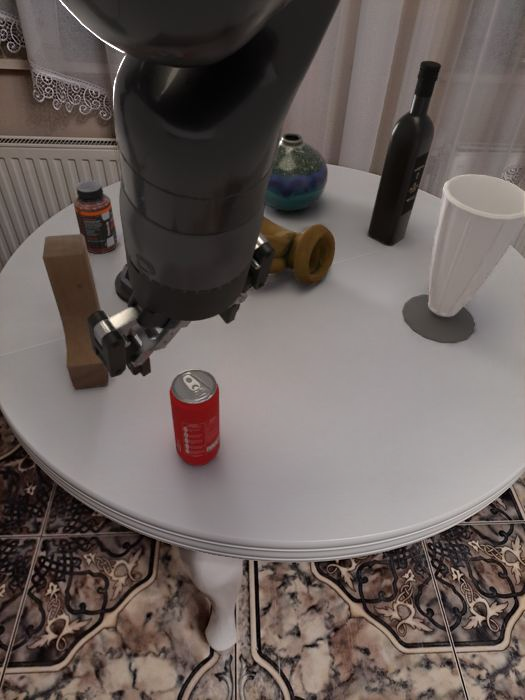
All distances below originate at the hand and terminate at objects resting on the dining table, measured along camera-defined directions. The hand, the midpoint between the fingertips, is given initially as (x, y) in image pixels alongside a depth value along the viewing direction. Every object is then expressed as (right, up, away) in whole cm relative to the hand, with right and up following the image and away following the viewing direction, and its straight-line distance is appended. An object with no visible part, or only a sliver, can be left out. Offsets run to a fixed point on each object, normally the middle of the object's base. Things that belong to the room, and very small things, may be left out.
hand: (183, 339), depth 43 cm
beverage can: (-1, -13, +18) cm, 22 cm away
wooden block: (-17, -3, +27) cm, 32 cm away
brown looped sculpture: (+5, +13, +45) cm, 47 cm away
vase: (+12, +29, +61) cm, 69 cm away
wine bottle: (+30, +21, +54) cm, 66 cm away
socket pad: (-12, +10, +40) cm, 42 cm away
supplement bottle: (-22, +18, +47) cm, 55 cm away
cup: (+35, +4, +38) cm, 52 cm away
